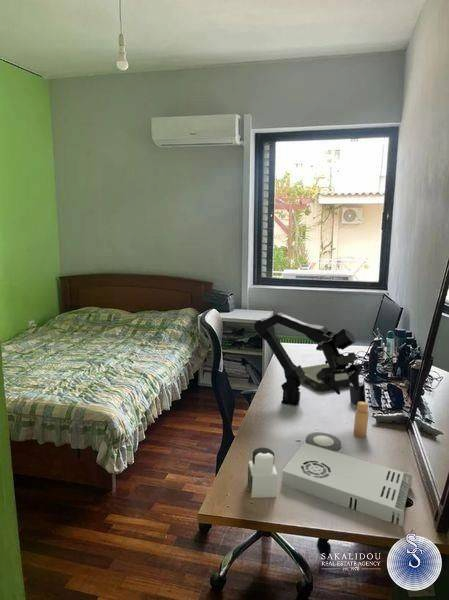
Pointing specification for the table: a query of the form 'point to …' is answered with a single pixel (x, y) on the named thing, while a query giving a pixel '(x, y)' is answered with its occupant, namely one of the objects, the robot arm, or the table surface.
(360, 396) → the speaker
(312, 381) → the network switch
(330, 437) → the charcoal pad
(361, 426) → the wooden bottle
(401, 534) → the table surface
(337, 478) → the power supply unit
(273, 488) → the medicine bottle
